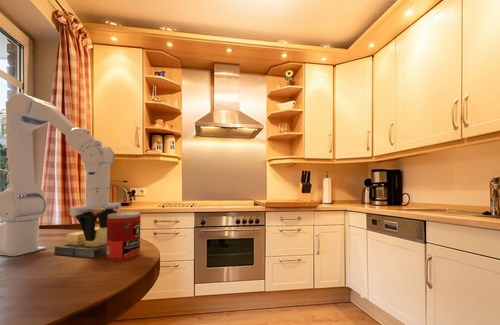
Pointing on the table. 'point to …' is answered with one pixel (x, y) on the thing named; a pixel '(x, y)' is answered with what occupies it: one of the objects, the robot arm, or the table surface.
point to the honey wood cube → (98, 238)
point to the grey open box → (79, 247)
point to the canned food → (123, 236)
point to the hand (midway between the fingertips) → (96, 238)
